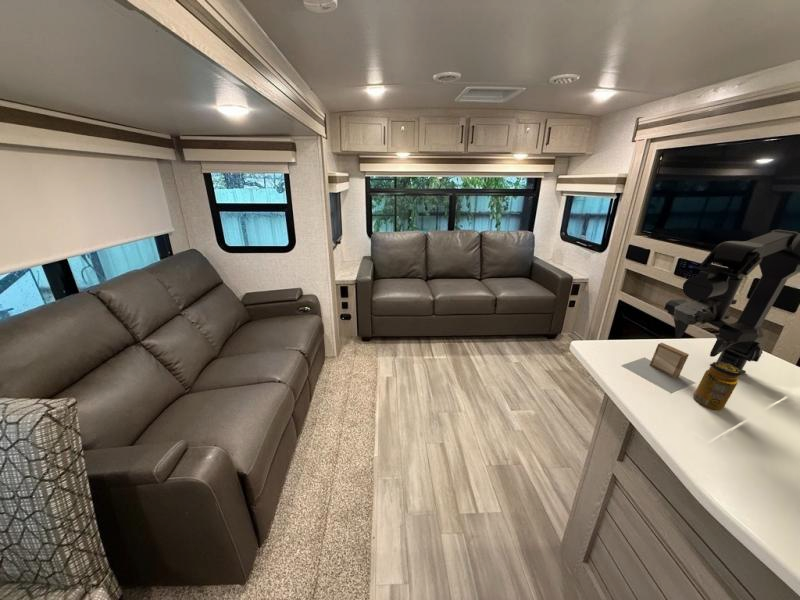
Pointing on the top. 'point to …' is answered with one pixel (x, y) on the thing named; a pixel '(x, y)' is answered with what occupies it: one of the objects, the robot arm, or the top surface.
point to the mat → (657, 375)
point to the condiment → (717, 385)
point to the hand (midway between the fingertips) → (694, 346)
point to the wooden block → (668, 360)
